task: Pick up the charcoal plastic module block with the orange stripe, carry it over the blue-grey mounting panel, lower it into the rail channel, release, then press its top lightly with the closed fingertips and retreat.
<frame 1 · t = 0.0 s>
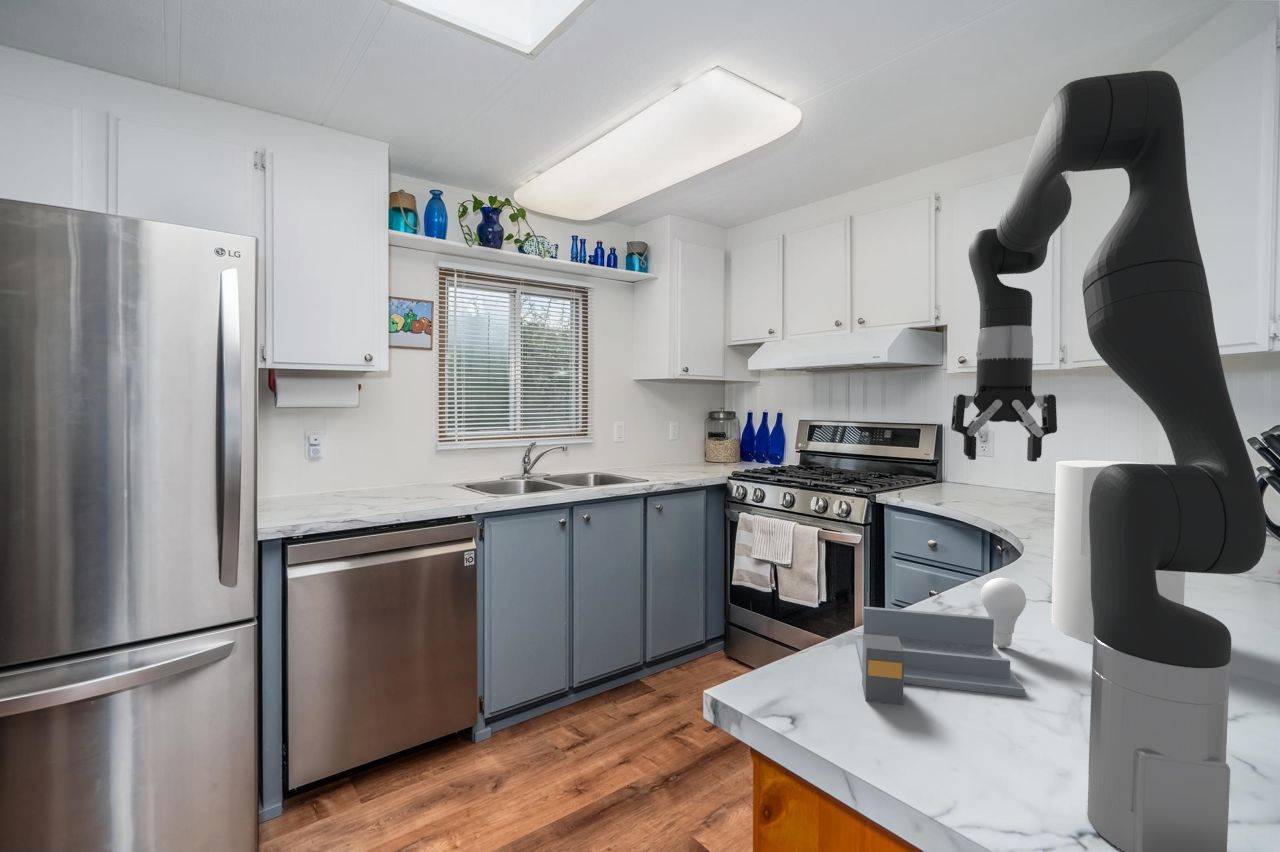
hand: (1001, 460, 97), 29 cm above the countertop, fingers open, 8 cm apart
module: (881, 694, 81), on the countertop
lightbulb: (1001, 649, 96), on the countertop
rail: (931, 654, 90), point 1 cm above the countertop
cylinder: (1113, 633, 103), on the countertop
panel: (932, 668, 89), on the countertop
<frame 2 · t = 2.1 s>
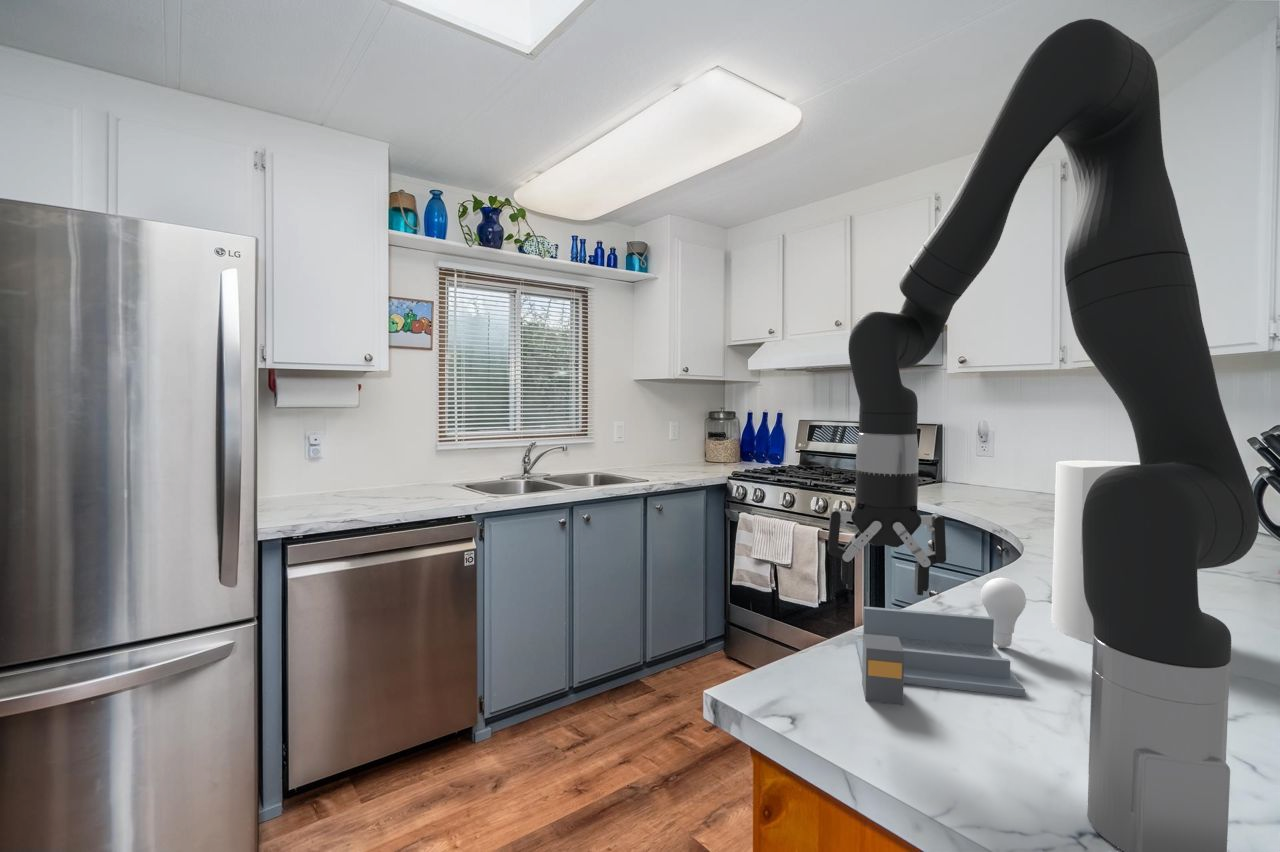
hand: (883, 590, 81), 14 cm above the countertop, fingers open, 8 cm apart
nothing on the countertop moved.
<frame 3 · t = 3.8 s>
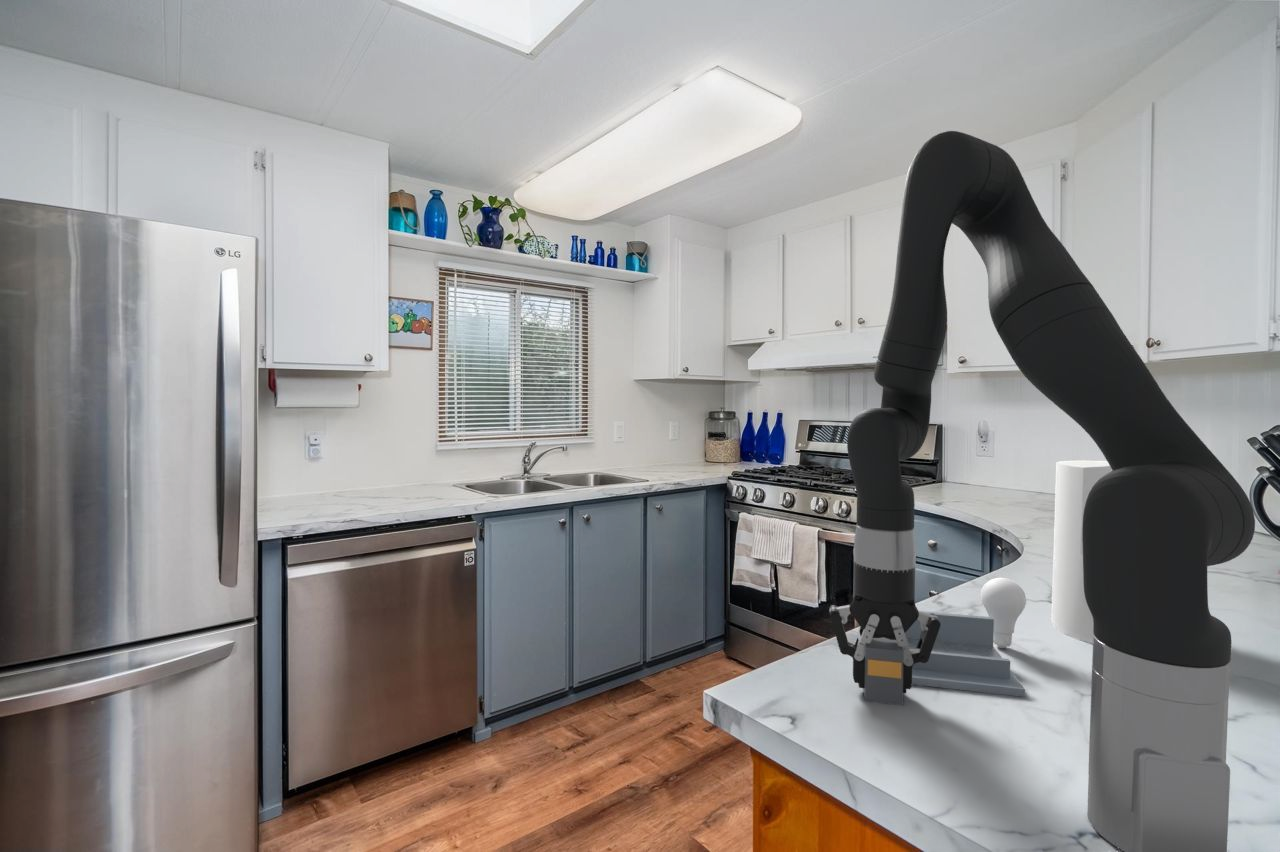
hand: (881, 687, 81), 1 cm above the countertop, fingers closed on module, 4 cm apart
module: (881, 693, 81), on the countertop, touching gripper
everything else where it was.
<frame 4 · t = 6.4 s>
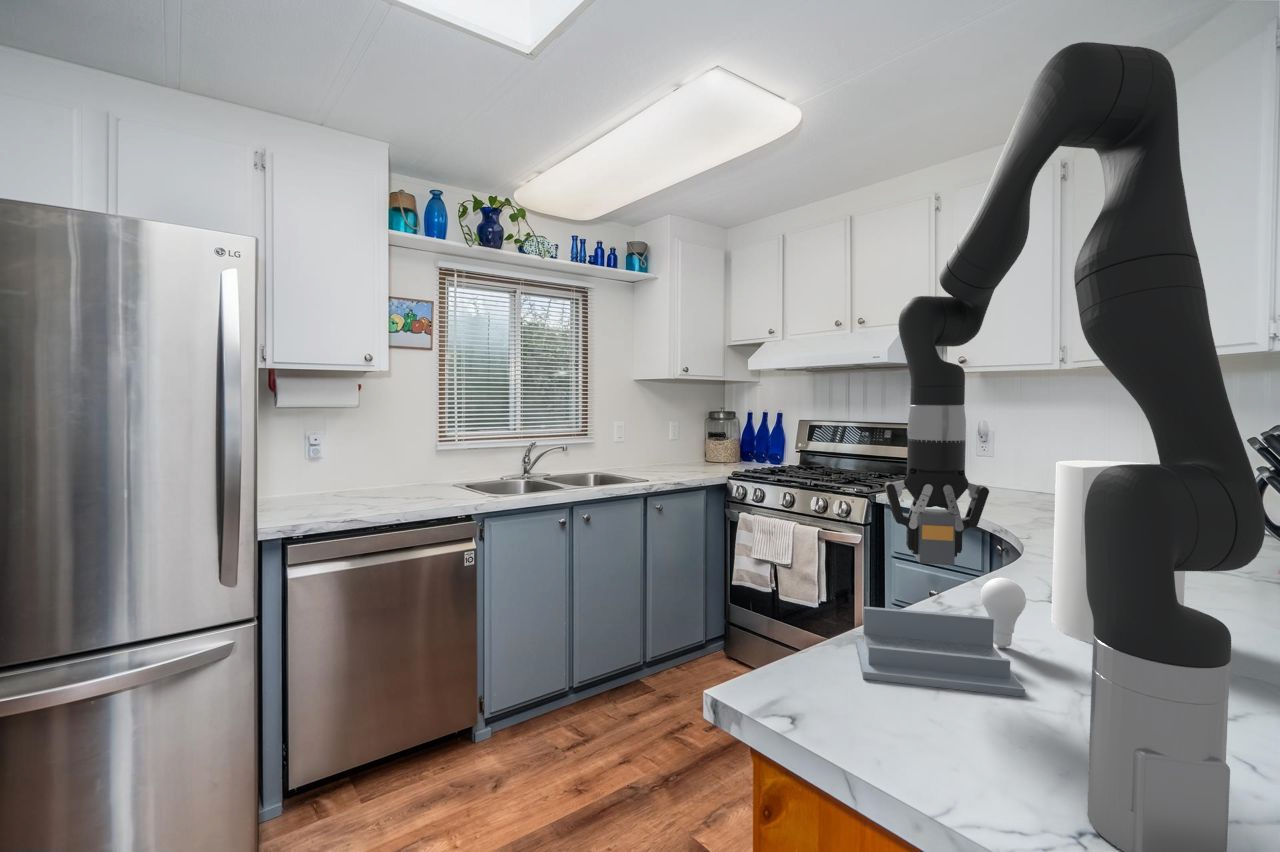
hand: (933, 553, 89), 17 cm above the countertop, fingers closed on module, 4 cm apart
module: (933, 559, 89), point 16 cm above the countertop, touching gripper
everything else where it was.
when the fingers open (4 cm above the countertop, at t = 8.9 s): module stays where it is, resting on rail.
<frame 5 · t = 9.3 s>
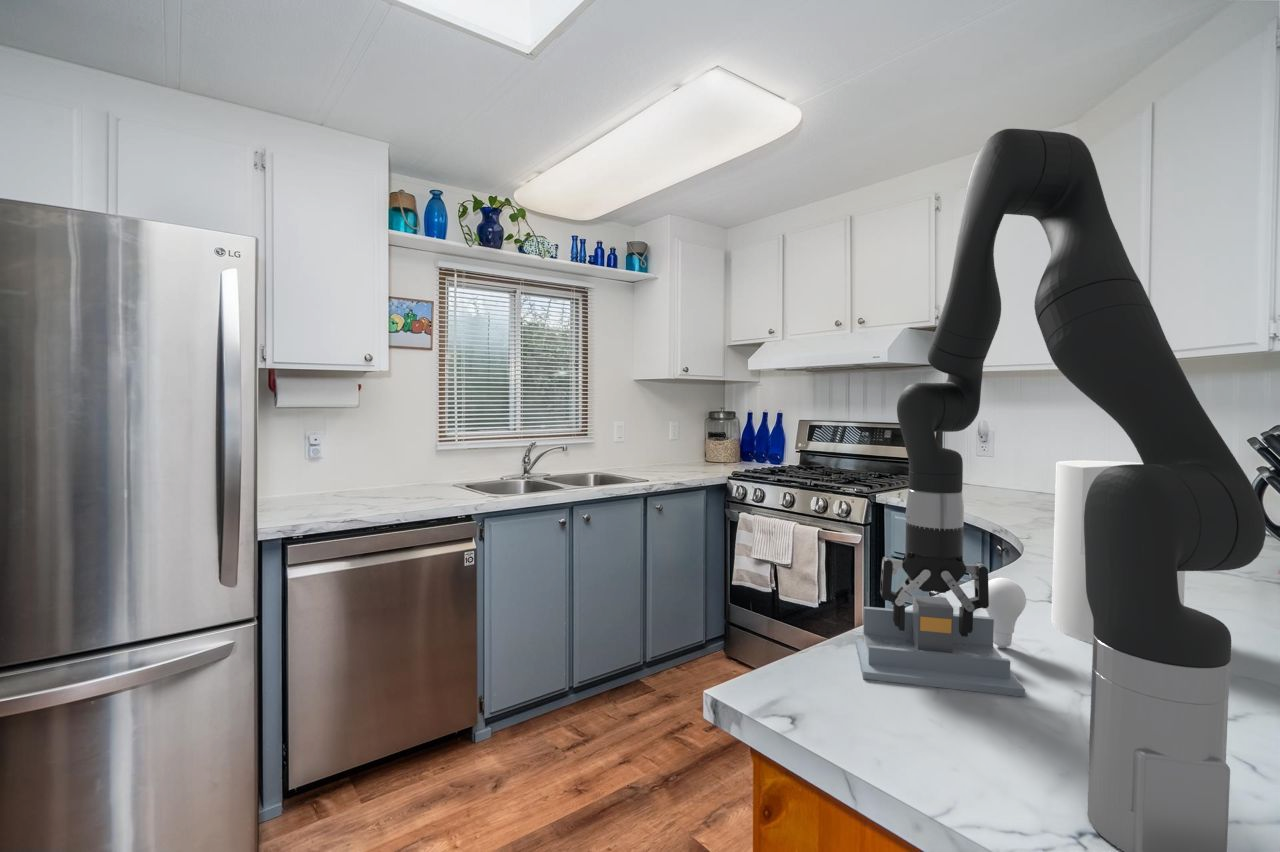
hand: (931, 631, 90), 5 cm above the countertop, fingers open, 8 cm apart
module: (931, 648, 90), point 2 cm above the countertop, touching rail
everything else where it was.
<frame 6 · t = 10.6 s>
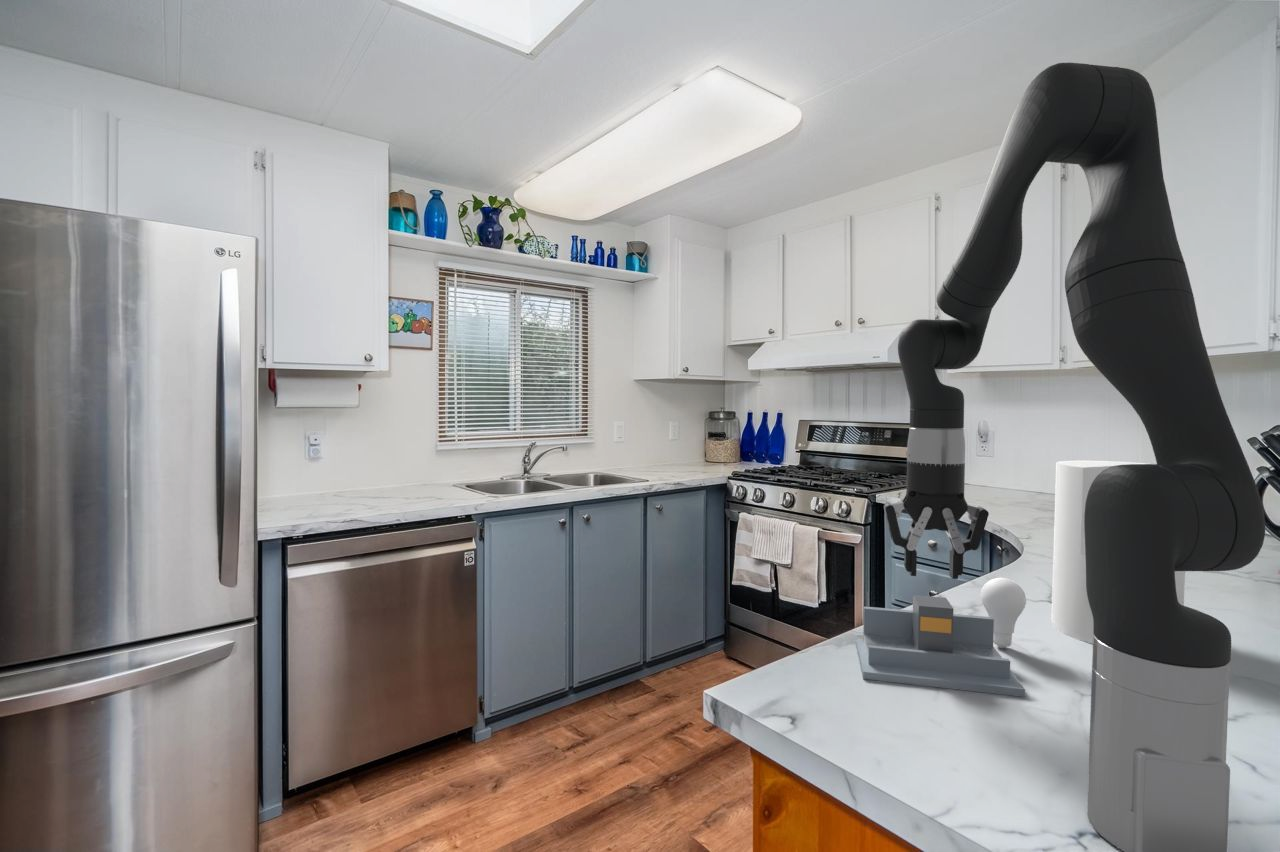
hand: (933, 575, 89), 13 cm above the countertop, fingers open, 5 cm apart
nothing on the countertop moved.
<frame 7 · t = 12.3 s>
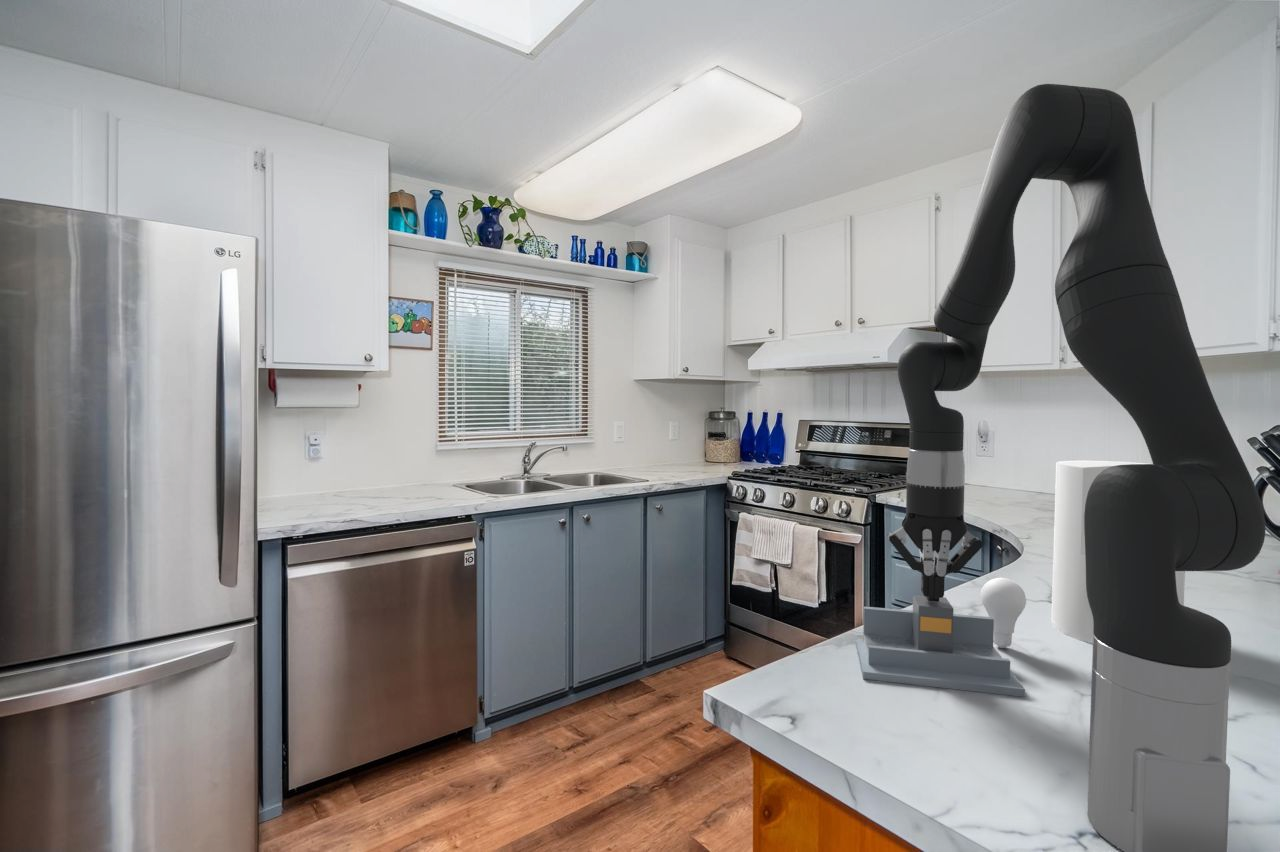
hand: (932, 599, 89), 10 cm above the countertop, fingers closed
nothing on the countertop moved.
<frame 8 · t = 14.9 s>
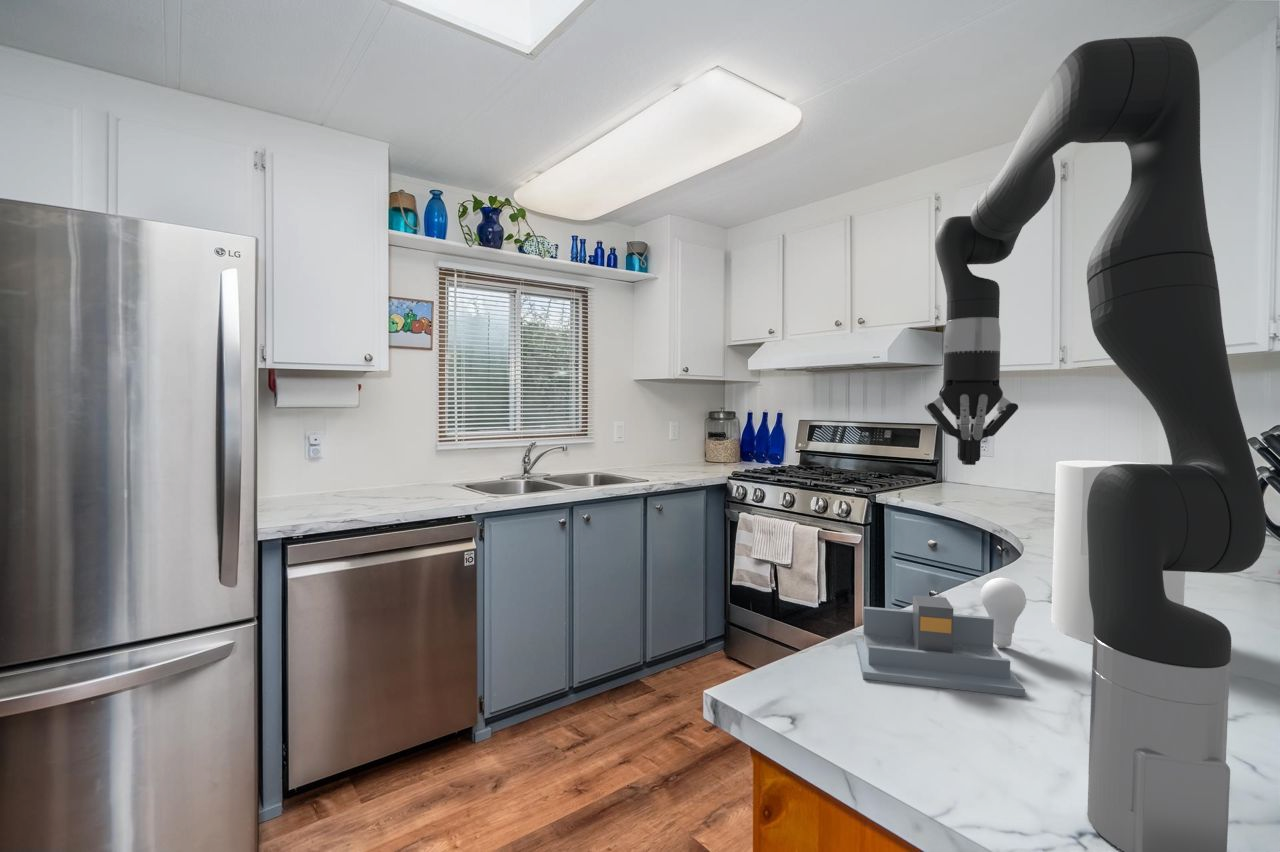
hand: (968, 464, 94), 29 cm above the countertop, fingers closed
nothing on the countertop moved.
at the end: module inside the target area (0.2 cm from its centre), point 2.5 cm above the countertop; module tilted 0°; the gripper is holding nothing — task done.
